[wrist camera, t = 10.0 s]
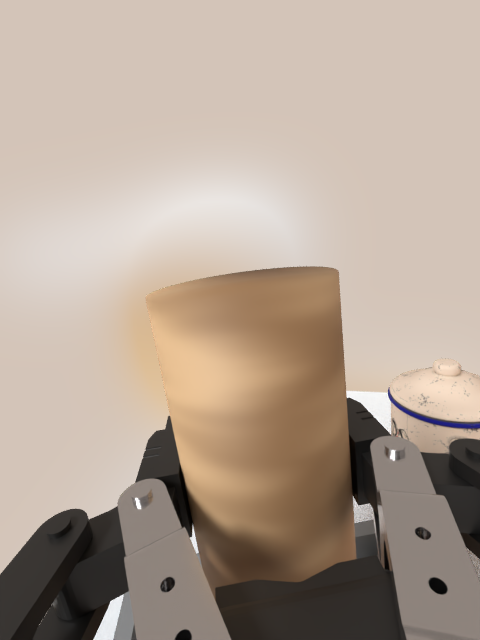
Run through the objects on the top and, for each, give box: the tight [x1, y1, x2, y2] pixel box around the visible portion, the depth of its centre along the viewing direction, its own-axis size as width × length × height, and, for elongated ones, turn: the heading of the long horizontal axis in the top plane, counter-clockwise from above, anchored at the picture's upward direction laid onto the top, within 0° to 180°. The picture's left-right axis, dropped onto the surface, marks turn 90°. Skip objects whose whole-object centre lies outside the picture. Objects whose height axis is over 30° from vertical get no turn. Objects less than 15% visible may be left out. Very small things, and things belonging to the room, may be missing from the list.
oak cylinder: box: [146, 267, 356, 599], centre depth 11 cm, size 5×5×14 cm
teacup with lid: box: [388, 359, 480, 454], centre depth 27 cm, size 12×9×12 cm
